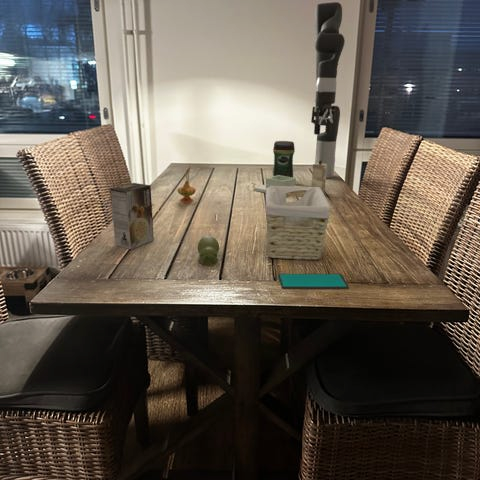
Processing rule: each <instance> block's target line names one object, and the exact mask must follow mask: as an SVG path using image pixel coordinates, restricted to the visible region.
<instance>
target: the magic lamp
mask: <svg viewBox="0 0 480 480" xmlns="http://www.w3.org/2000/svg"><path fill="white" fill-rule="evenodd" d="M189 173H190V169H189V168H186V171H185V177H186V180H185V181H184V184H183V186H181V187H178V188H177V193H178V194H179V195H180V196H183V197H182V198H181V199H179V201H181V202H184V203H189V202H194V199H193V198H191V196H193V195H194V194H195V193H196V188H195V187H193V186H191V185H190V174H189Z"/></svg>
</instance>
